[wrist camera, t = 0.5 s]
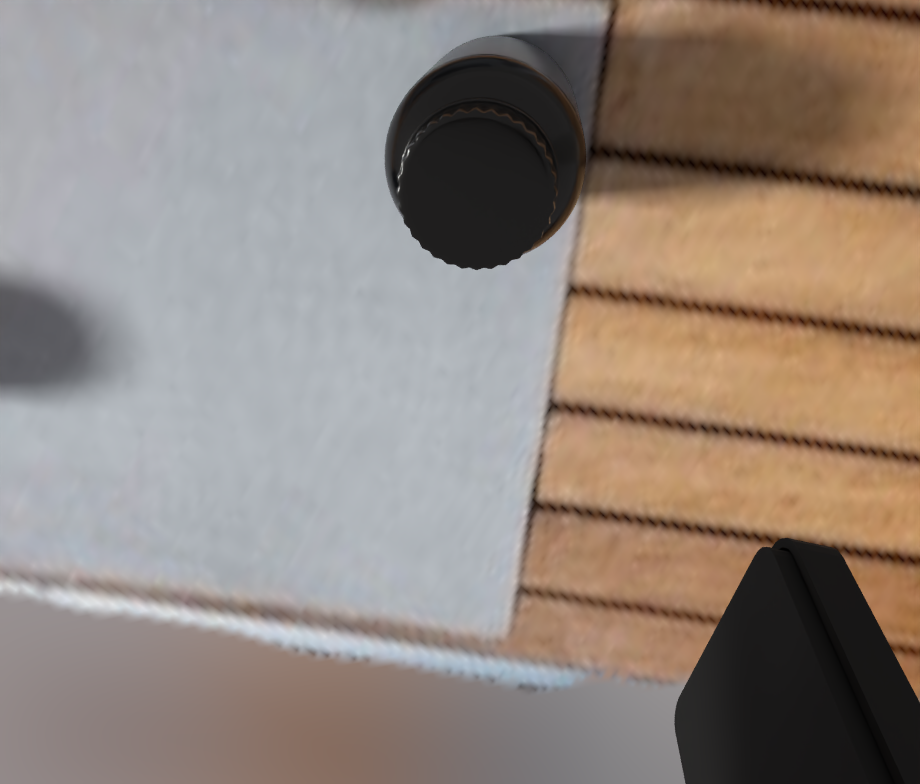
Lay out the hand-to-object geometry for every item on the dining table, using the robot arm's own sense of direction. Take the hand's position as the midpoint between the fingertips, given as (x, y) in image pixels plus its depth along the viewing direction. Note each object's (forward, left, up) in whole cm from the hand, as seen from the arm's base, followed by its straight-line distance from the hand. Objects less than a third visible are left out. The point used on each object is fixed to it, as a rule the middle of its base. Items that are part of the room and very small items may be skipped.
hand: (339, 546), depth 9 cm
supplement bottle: (0, 0, -28) cm, 28 cm away
